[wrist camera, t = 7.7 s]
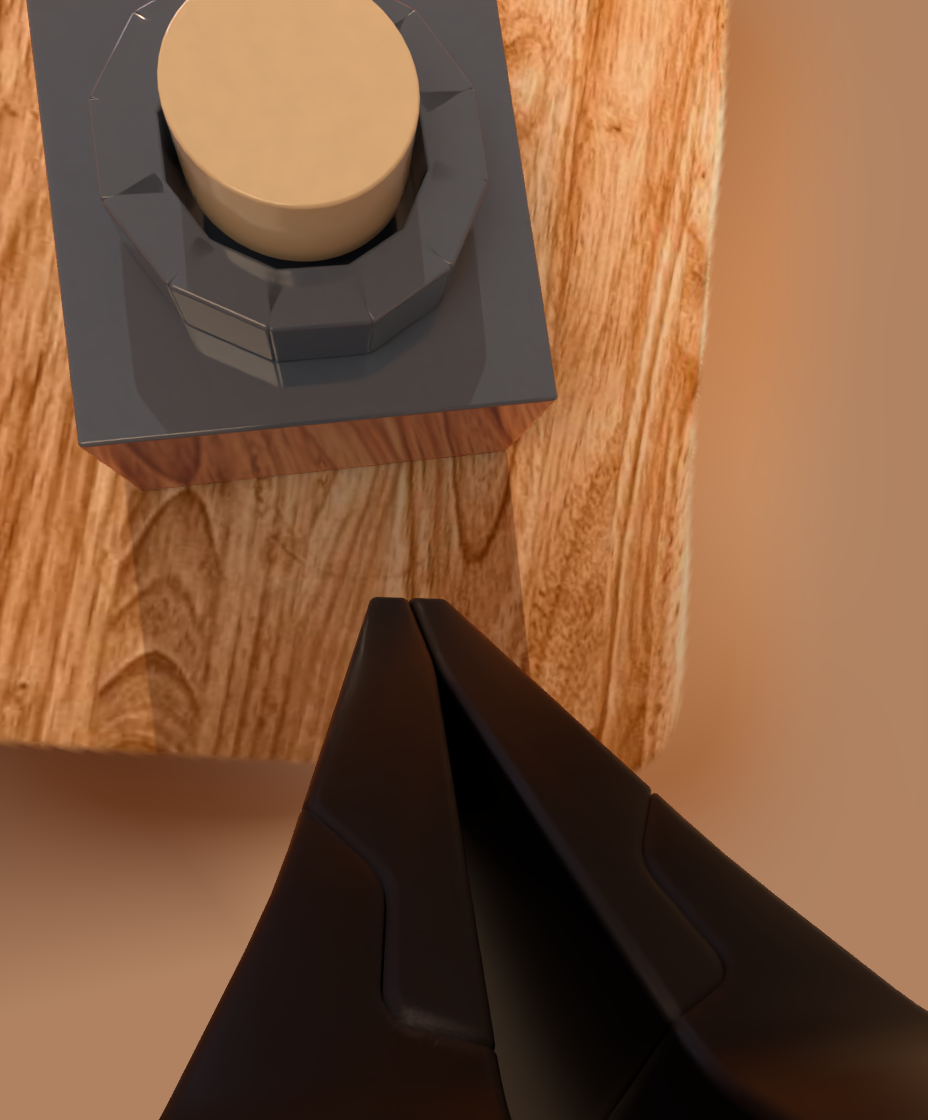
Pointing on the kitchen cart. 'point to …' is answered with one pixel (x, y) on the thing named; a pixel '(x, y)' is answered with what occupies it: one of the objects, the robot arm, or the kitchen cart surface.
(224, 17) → the tan push button
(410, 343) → the grey button base
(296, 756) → the kitchen cart surface
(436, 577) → the kitchen cart surface
